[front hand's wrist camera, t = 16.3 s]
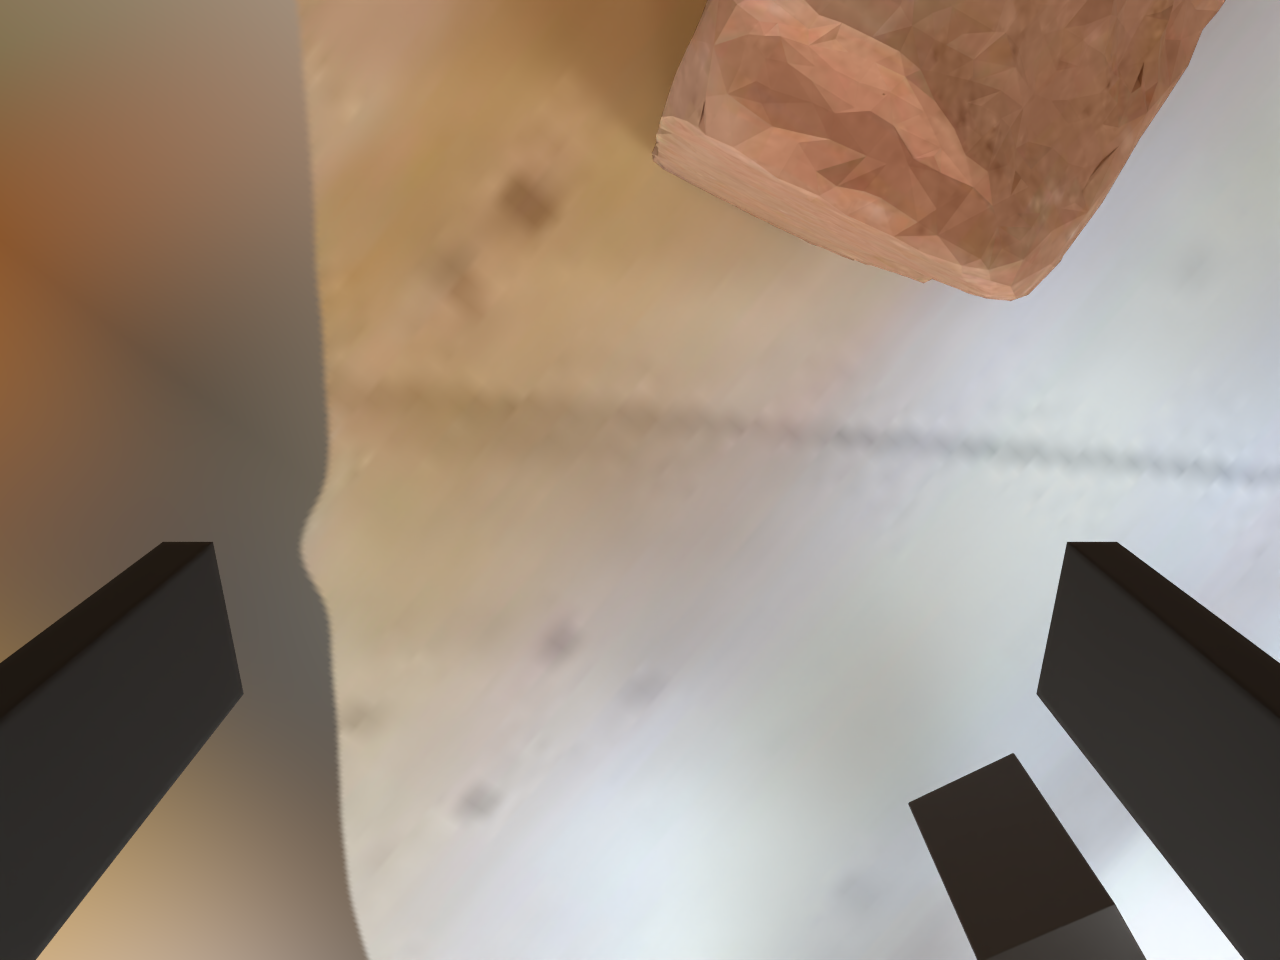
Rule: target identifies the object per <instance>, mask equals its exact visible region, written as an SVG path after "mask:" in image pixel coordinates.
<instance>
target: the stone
mask: <svg viewBox="0 0 1280 960" xmlns="http://www.w3.org/2000/svg"><path fill="white" fill-rule="evenodd" d="M1224 2H1225V0H708V1H707V3H706V5H705V8H704V11H703V14H702V17H701V19H700V21H699V23H698V26H697V28H696V30H695V33H694V35H693V37H692V39H691V41H690V43H689V45H688V47H687V49H686V51H685V54H684V56H683V58H682V60H681V63H680V65H679V67H678V70H677V72H676V74H675V77H674V80H673V83H672V86H671V89H670V92H669V95H668V98H667V101H666V104H665V107H664V110H663V113H662V117H661V120H660V123H659V125H660V126H659V129H658V131H657V134H656V145H655V147H654V150H653V152H652V154H653V161H654V162H655V163H657V164H658V165H659V166H660V167H661V168H663V169H664V170H666V171H668V172H670V173H672V174H674V175H676V176H678V177H680V178H682V179H683V180H685V181H687V182H689V183H691V184H693V185H695V186H697V187H699V188H701V189H703V190H704V191H706V192H708V193H710V194H712V195H714V196H716V197H718V198H720V199H722V200H724V201H726V202H728V203H730V204H732V205H734V206H736V207H738V208H740V209H742V210H743V211H745V212H747V213H749V214H751V215H753V216H755V217H757V218H759V219H762V220H764V221H766V222H768V223H770V224H772V225H774V226H776V227H778V228H780V229H782V230H784V231H786V232H788V233H791V234H793V235H795V236H797V237H799V238H801V239H803V240H805V241H807V242H809V243H810V244H813V245H816V246H820V247H822V248H825V249H827V250H829V251H832V252H834V253H836V254H838V255H841V256H843V257H846V258H848V259H851V260H857V261H859V262H861V263H864V264H867V265H872V266H875V267H879V268H882V269H885V270H888V271H891V272H895V273H897V274H900V275H903V276H906V277H909V278H912V279H914V280H917V281H919V282H922V283H925V282H927V281H929V280H931V279H934V280H936V281H939V282H941V283H944V284H947V285H949V286H952V287H954V288H957V289H960V290H962V291H964V292H966V293H969V294H973V295H976V296H981V297H984V298H988V299H998V300H1008V301H1012V300H1014V299H1017V298H1020V297H1023V296H1026V295H1028V294H1029V293H1030V292H1031V291H1032V290H1033V289H1034V288H1035V287H1036V286H1037V285H1038V284H1039V283H1040V282H1041V281H1042V280H1043V279H1044V278H1045V277H1046V276H1047V275H1048V274H1049V273H1050V272H1051V271H1052V270H1053V269H1054V268H1055V267H1056V266H1057V264H1058V263H1059V262H1060V261H1061V259H1062V257H1063V255H1064V254H1065V253H1066V251H1067V250H1068V249H1069V247H1070V246H1071V244H1072V243H1073V242H1074V240H1075V239H1076V238H1077V236H1078V235H1079V234H1080V232H1081V231H1082V229H1083V228H1084V227H1085V225H1086V224H1087V223H1088V221H1089V220H1090V219H1091V217H1092V216H1093V215H1094V213H1095V212H1096V210H1097V209H1098V208H1099V206H1100V205H1101V204H1102V202H1103V201H1104V199H1105V197H1106V195H1107V194H1108V192H1109V190H1110V189H1111V187H1112V185H1113V184H1114V182H1115V180H1116V178H1117V177H1118V175H1119V173H1120V172H1121V170H1122V168H1123V167H1124V165H1125V163H1126V161H1127V160H1128V158H1129V156H1130V154H1131V153H1132V151H1133V149H1134V148H1135V146H1136V144H1137V142H1138V141H1139V139H1140V137H1141V136H1142V135H1143V133H1144V132H1145V130H1146V129H1147V127H1148V126H1149V124H1150V123H1151V121H1152V120H1153V118H1154V117H1155V115H1156V114H1157V112H1158V111H1159V109H1160V108H1161V106H1162V105H1163V103H1164V102H1165V100H1166V99H1167V97H1168V96H1169V94H1170V93H1171V91H1172V90H1173V88H1174V86H1175V85H1176V83H1177V82H1178V80H1179V79H1180V77H1181V76H1182V74H1183V73H1184V71H1185V69H1186V68H1187V66H1188V65H1189V62H1190V60H1191V57H1192V55H1193V52H1194V50H1195V47H1196V45H1197V42H1198V40H1199V37H1200V35H1201V32H1202V30H1203V28H1204V27H1205V26H1206V25H1207V24H1208V23H1209V21H1210V20H1211V19H1212V18H1213V17H1214V15H1215V14H1216V13H1217V12H1218V11H1219V9H1220V8H1221V6H1222V5H1223V3H1224Z"/></svg>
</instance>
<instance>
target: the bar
mask: <svg viewBox="0 0 1280 960" xmlns="http://www.w3.org/2000/svg"><path fill="white" fill-rule="evenodd" d="M908 804H909V806H910V809H911V811H912V813H913V816H914V818H915V820H916V822H917V825H918V827H919V829H920V831H921V834H922V836H923V838H924V840H925V843H926V845H927V847H928V850H929V852H930V854H931V856H932V859H933V861H934V863H935V865H936V868H937V870H938V872H939V874H940V877H941V879H942V881H943V884H944V886H945V888H946V890H947V893H948V895H949V897H950V899H951V902H952V904H953V906H954V908H955V911H956V913H957V915H958V918H959V920H960V922H961V924H962V927H963V929H964V931H965V933H966V936H967V938H968V940H969V942H970V945H971V947H972V949H973V952H974V954H975V956H976V958H977V960H1146V958H1145V956H1144V955H1143V953H1142V951H1141V949H1140V948H1139V946H1138V944H1137V942H1136V940H1135V939H1134V937H1133V935H1132V933H1131V932H1130V930H1129V928H1128V926H1127V925H1126V923H1125V921H1124V919H1123V917H1122V916H1121V914H1120V912H1119V910H1118V909H1117V907H1116V905H1115V903H1114V902H1113V900H1112V899H1111V897H1110V896H1109V894H1108V893H1107V891H1106V890H1105V888H1104V887H1103V885H1102V884H1101V882H1100V881H1099V879H1098V878H1097V876H1096V875H1095V873H1094V872H1093V870H1092V869H1091V867H1090V866H1089V865H1088V863H1087V862H1086V860H1085V859H1084V857H1083V856H1082V854H1081V853H1080V851H1079V850H1078V848H1077V847H1076V845H1075V844H1074V842H1073V841H1072V839H1071V838H1070V836H1069V835H1068V833H1067V832H1066V830H1065V829H1064V827H1063V826H1062V824H1061V823H1060V821H1059V820H1058V818H1057V817H1056V815H1055V814H1054V812H1053V811H1052V809H1051V808H1050V806H1049V805H1048V803H1047V802H1046V800H1045V799H1044V797H1043V796H1042V794H1041V793H1040V791H1039V790H1038V788H1037V787H1036V785H1035V784H1034V782H1033V781H1032V779H1031V778H1030V776H1029V775H1028V773H1027V772H1026V770H1025V769H1024V768H1023V766H1022V765H1021V763H1020V762H1019V760H1018V759H1017V757H1016V756H1015V754H1014V753H1012V754H1010V755H1008V756H1006V757H1004V758H1002V759H1000V760H998V761H995V762H993V763H991V764H989V765H987V766H985V767H983V768H981V769H979V770H976V771H974V772H972V773H970V774H968V775H966V776H964V777H962V778H960V779H958V780H955V781H953V782H951V783H949V784H947V785H945V786H943V787H941V788H939V789H937V790H934V791H932V792H930V793H928V794H926V795H924V796H922V797H920V798H918V799H915V800H913V801H911V802H909V803H908Z"/></svg>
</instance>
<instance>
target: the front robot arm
mask: <svg viewBox="0 0 1280 960" xmlns="http://www.w3.org/2000/svg"><path fill="white" fill-rule="evenodd" d="M242 695H243V689H242V684H241V679H240V674H239V669H238V664H237V659H236V654H235V649H234V644H233V640H232V635H231V630H230V625H229V620H228V615H227V610H226V605H225V600H224V595H223V590H222V585H221V580H220V575H219V570H218V565H217V560H216V555H215V550H214V546H213V542H162V543H161V544H160V545H158V546H157V547H156V548H154V549H153V550H152V551H150V552H149V553H148V554H146V555H145V556H144V557H142V558H141V559H140V560H138V561H137V562H136V563H134V564H133V565H131V566H130V567H129V568H127V569H126V570H125V571H123V572H122V573H121V574H119V575H118V576H117V577H115V578H114V579H113V580H111V581H110V582H109V583H107V584H106V585H105V586H103V587H102V588H101V589H99V590H98V591H97V592H95V593H94V594H93V595H91V596H90V597H88V598H87V599H86V600H84V601H83V602H82V603H81V604H79V605H78V606H76V607H75V608H74V609H72V610H71V611H70V612H68V613H67V614H66V615H64V616H63V617H62V618H60V619H59V620H58V621H56V622H55V623H54V624H52V625H51V626H50V627H48V628H47V629H46V630H44V631H43V632H42V633H40V634H39V635H37V636H36V637H35V638H33V639H32V640H31V641H29V642H28V643H27V644H25V645H24V646H23V647H21V648H20V649H19V650H17V651H16V652H15V653H13V654H12V655H11V656H9V657H8V658H7V659H5V660H4V661H3V662H1V663H0V960H36V959H37V958H38V956H39V955H40V954H41V952H42V951H43V950H44V949H45V947H46V946H47V945H48V943H49V942H50V941H51V940H52V938H53V937H54V936H55V934H56V933H57V932H58V931H59V929H60V928H61V927H62V926H63V924H64V923H65V922H66V920H67V919H68V918H69V917H70V915H71V914H72V913H73V911H74V910H75V909H76V908H77V906H78V905H79V904H80V902H81V901H82V900H83V899H84V897H85V896H86V895H87V893H88V892H89V891H90V890H91V888H92V887H93V886H94V885H95V883H96V882H97V881H98V879H99V878H100V877H101V876H102V874H103V873H104V872H105V871H106V869H107V868H108V867H109V865H110V864H111V863H112V862H113V860H114V859H115V858H116V856H117V855H118V854H119V853H120V851H121V850H122V849H123V847H124V846H125V845H126V844H127V842H128V841H129V840H130V838H131V837H132V836H133V835H134V833H135V832H136V831H137V829H138V828H139V827H140V826H141V824H142V823H143V822H144V821H145V819H146V818H147V817H148V815H149V814H150V813H151V812H152V810H153V809H154V808H155V807H156V805H157V804H158V803H159V801H160V800H161V799H162V798H163V796H164V795H165V794H166V792H167V791H168V790H169V789H170V787H171V786H172V785H173V783H174V782H175V781H176V780H177V778H178V777H179V776H180V775H181V773H182V772H183V771H184V769H185V768H186V767H187V765H188V764H189V763H190V762H191V760H192V759H193V758H194V757H195V755H196V754H197V753H198V752H199V750H200V749H201V748H202V746H203V745H204V744H205V742H206V741H207V740H208V739H209V737H210V736H211V735H212V734H213V732H214V731H215V730H216V728H217V727H218V726H219V725H220V723H221V722H222V721H223V720H224V718H225V717H226V716H227V714H228V713H229V712H230V711H231V709H232V708H233V707H234V705H235V704H236V703H237V702H238V700H239V699H240V698H241V696H242ZM1037 695H1038V696H1039V698H1040V699H1041V700H1042V702H1043V703H1044V704H1045V705H1046V707H1047V708H1048V709H1049V711H1050V712H1051V713H1052V714H1053V716H1054V717H1055V718H1056V720H1057V721H1058V722H1059V723H1060V725H1061V726H1062V727H1063V728H1064V730H1065V731H1066V732H1067V734H1068V735H1069V736H1070V737H1071V739H1072V740H1073V741H1074V743H1075V744H1076V745H1077V746H1078V748H1079V749H1080V750H1081V752H1082V753H1083V754H1084V755H1085V757H1086V758H1087V759H1088V760H1089V762H1090V763H1091V764H1092V766H1093V767H1094V768H1095V769H1096V771H1097V772H1098V773H1099V775H1100V776H1101V777H1102V778H1103V780H1104V781H1105V782H1106V783H1107V785H1108V786H1109V787H1110V789H1111V790H1112V791H1113V792H1114V794H1115V795H1116V796H1117V798H1118V799H1119V800H1120V801H1121V803H1122V804H1123V805H1124V807H1125V808H1126V809H1127V810H1128V812H1129V813H1130V814H1131V815H1132V817H1133V818H1134V819H1135V821H1136V822H1137V823H1138V824H1139V826H1140V827H1141V828H1142V830H1143V831H1144V832H1145V833H1146V835H1147V836H1148V837H1149V839H1150V840H1151V841H1152V842H1153V844H1154V845H1155V846H1156V847H1157V849H1158V850H1159V851H1160V853H1161V854H1162V855H1163V856H1164V858H1165V859H1166V860H1167V862H1168V863H1169V864H1170V865H1171V867H1172V868H1173V869H1174V871H1175V872H1176V873H1177V874H1178V876H1179V877H1180V878H1181V879H1182V881H1183V882H1184V883H1185V885H1186V886H1187V887H1188V888H1189V890H1190V891H1191V892H1192V894H1193V895H1194V896H1195V897H1196V899H1197V900H1198V901H1199V903H1200V904H1201V905H1202V906H1203V908H1204V909H1205V910H1206V911H1207V913H1208V914H1209V915H1210V917H1211V918H1212V919H1213V920H1214V922H1215V923H1216V924H1217V926H1218V927H1219V928H1220V929H1221V931H1222V932H1223V933H1224V934H1225V936H1226V937H1227V938H1228V940H1229V941H1230V942H1231V943H1232V945H1233V946H1234V947H1235V949H1236V950H1237V951H1238V952H1239V954H1240V955H1241V956H1242V958H1243V959H1244V960H1280V663H1279V662H1277V661H1276V660H1275V659H1273V658H1272V657H1271V656H1269V655H1268V654H1267V653H1265V652H1264V651H1263V650H1261V649H1260V648H1259V647H1257V646H1256V645H1255V644H1253V643H1252V642H1251V641H1249V640H1248V639H1247V638H1245V637H1244V636H1243V635H1241V634H1240V633H1238V632H1237V631H1236V630H1234V629H1233V628H1232V627H1230V626H1229V625H1228V624H1226V623H1225V622H1224V621H1222V620H1221V619H1220V618H1218V617H1217V616H1216V615H1214V614H1213V613H1212V612H1210V611H1209V610H1208V609H1206V608H1205V607H1204V606H1202V605H1201V604H1200V603H1198V602H1197V601H1196V600H1194V599H1193V598H1192V597H1190V596H1189V595H1187V594H1186V593H1185V592H1183V591H1182V590H1181V589H1179V588H1178V587H1177V586H1175V585H1174V584H1173V583H1171V582H1170V581H1169V580H1167V579H1166V578H1165V577H1163V576H1162V575H1161V574H1159V573H1158V572H1157V571H1155V570H1154V569H1153V568H1151V567H1150V566H1149V565H1147V564H1146V563H1145V562H1143V561H1142V560H1141V559H1139V558H1138V557H1136V556H1135V555H1134V554H1132V553H1131V552H1130V551H1128V550H1127V549H1126V548H1124V547H1123V546H1122V545H1120V544H1119V543H1118V542H1067V545H1066V550H1065V555H1064V560H1063V565H1062V570H1061V575H1060V580H1059V585H1058V590H1057V595H1056V600H1055V605H1054V610H1053V615H1052V620H1051V625H1050V630H1049V635H1048V639H1047V644H1046V649H1045V654H1044V659H1043V664H1042V669H1041V674H1040V679H1039V684H1038V689H1037Z"/></svg>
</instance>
